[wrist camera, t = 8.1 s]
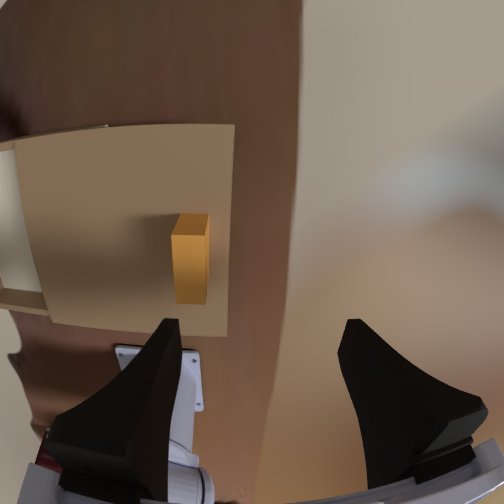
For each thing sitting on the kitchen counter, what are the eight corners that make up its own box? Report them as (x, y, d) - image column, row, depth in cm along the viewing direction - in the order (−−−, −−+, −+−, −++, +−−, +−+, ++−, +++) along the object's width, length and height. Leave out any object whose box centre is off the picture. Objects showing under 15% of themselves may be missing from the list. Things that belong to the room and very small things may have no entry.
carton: (125, 301, 24) (115, 323, 21) (4, 288, 23) (-11, 306, 20) (108, 124, 18) (89, 128, 15) (-25, 147, 17) (-48, 155, 14)
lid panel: (227, 331, 22) (227, 367, 19) (55, 317, 21) (37, 347, 17) (234, 124, 16) (235, 128, 12) (19, 139, 14) (-15, 150, 11)
